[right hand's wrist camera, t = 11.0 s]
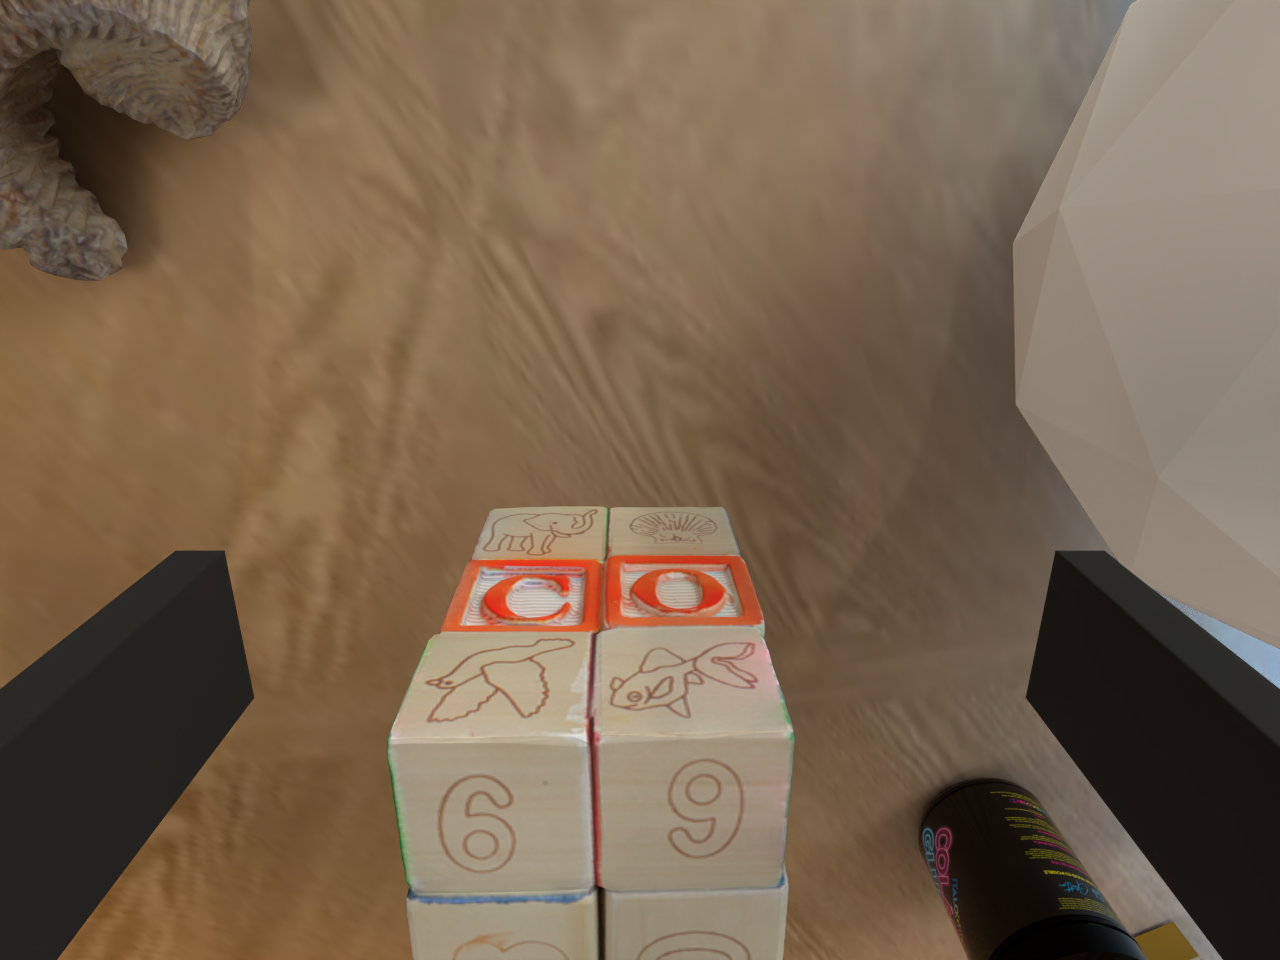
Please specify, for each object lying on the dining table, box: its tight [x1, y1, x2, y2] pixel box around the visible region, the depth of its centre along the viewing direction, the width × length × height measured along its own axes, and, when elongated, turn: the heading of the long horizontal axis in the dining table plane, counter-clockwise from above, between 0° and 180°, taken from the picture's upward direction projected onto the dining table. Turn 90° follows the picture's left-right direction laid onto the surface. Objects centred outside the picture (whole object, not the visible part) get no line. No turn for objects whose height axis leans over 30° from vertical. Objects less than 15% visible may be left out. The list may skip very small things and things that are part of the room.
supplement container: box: [918, 778, 1148, 960], centre depth 37 cm, size 7×7×10 cm
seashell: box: [0, 0, 252, 281], centre depth 27 cm, size 14×10×10 cm
